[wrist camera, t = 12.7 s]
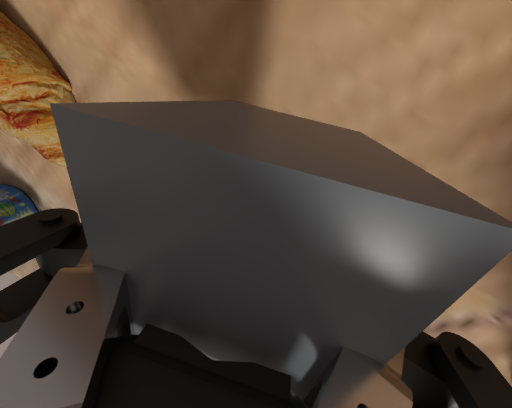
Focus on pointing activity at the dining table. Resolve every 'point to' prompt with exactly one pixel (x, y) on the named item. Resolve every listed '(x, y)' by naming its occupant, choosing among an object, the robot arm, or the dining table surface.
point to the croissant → (30, 92)
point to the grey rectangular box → (271, 230)
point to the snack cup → (14, 204)
